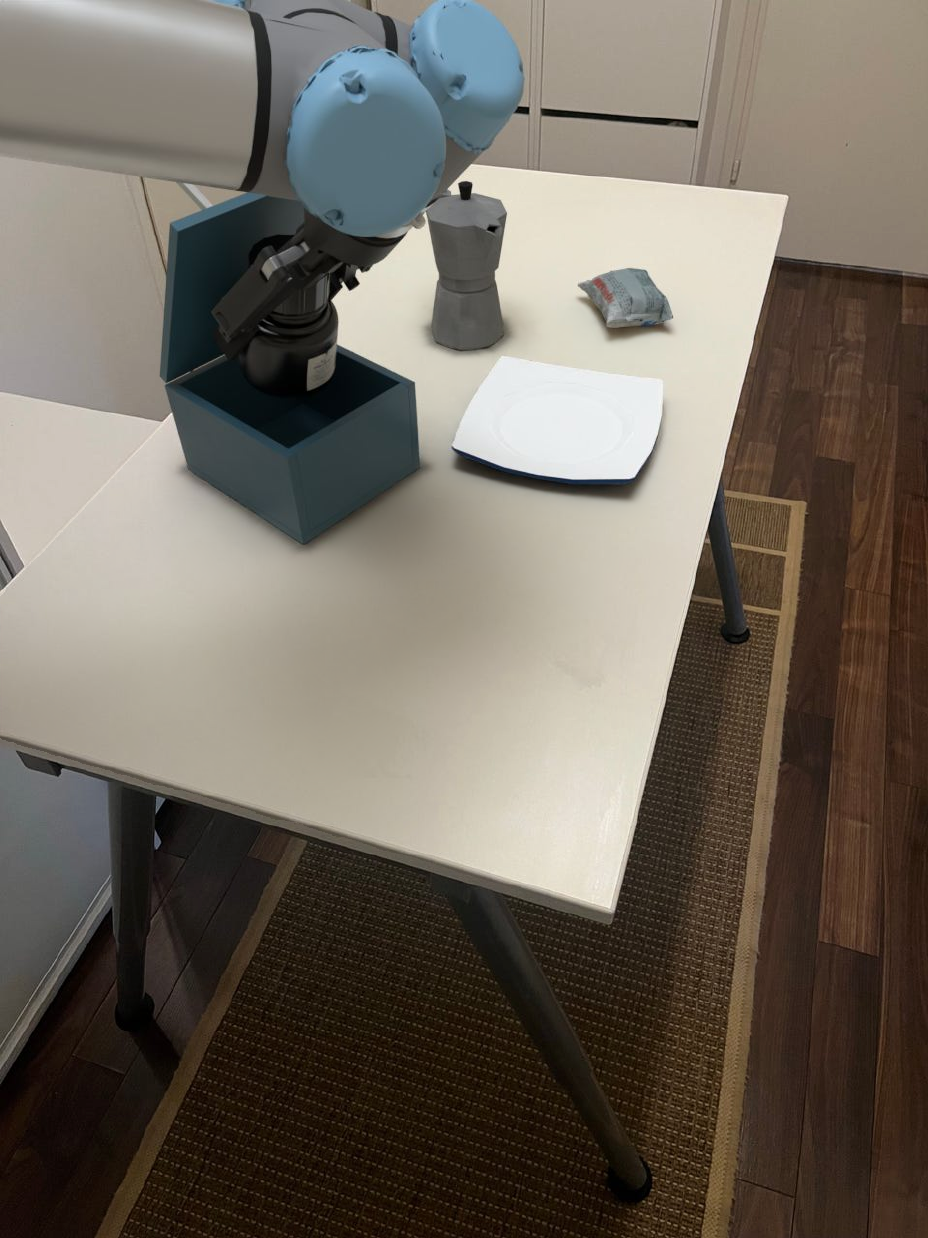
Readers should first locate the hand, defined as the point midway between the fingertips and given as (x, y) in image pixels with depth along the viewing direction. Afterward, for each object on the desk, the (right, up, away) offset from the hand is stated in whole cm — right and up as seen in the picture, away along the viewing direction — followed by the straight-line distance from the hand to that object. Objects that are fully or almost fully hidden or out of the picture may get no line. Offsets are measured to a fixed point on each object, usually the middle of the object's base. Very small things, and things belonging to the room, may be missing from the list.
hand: (265, 326), depth 86 cm
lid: (-2, +4, -2) cm, 4 cm away
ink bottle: (+2, -4, +2) cm, 4 cm away
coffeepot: (+18, +9, +29) cm, 36 cm away
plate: (+29, -7, +14) cm, 33 cm away
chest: (+2, -12, +10) cm, 15 cm away
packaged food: (+38, +11, +31) cm, 50 cm away
